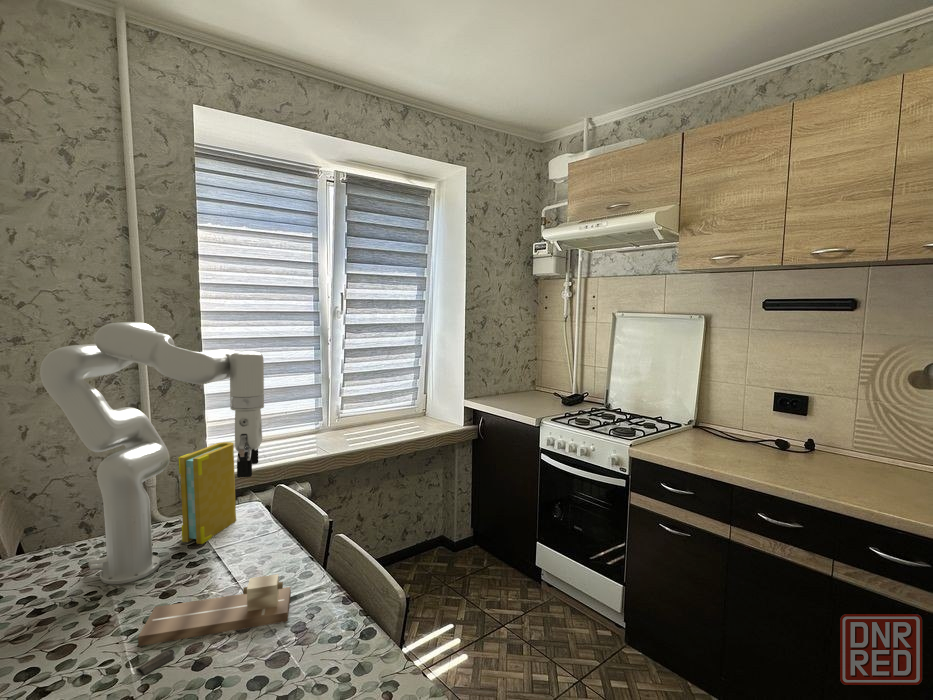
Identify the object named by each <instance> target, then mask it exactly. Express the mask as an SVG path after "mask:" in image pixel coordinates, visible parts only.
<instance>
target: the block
mask: <svg viewBox="0 0 933 700" xmlns="http://www.w3.org/2000/svg"><path fill="white" fill-rule="evenodd" d="M175 653H176V652H175V650H173V649H170V648H169V649H166V650H164V651H163V652H161V653H159V654H157V655H156V656H154V657H153V658H151V659H149V660H147V661H146V662H144V663H142V664H140V666H137V667H136V668H135V670H136V671H137V672H138V673H140V674H141V675H142V676H146V675H148V674H150V673H151V672H153V671H156V670H157V669H159V668H161V667H162V666H164V665H166V664H168V663H170V662H172V661H174V660H175V656H176V655H175Z"/></svg>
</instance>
